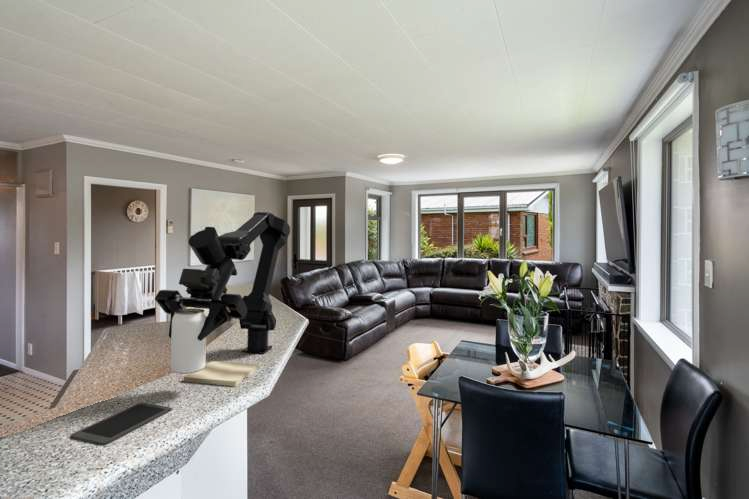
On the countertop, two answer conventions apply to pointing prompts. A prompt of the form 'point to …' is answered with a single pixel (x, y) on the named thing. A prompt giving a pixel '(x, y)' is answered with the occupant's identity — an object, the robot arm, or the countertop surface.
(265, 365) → the countertop surface
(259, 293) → the robot arm
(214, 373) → the coaster
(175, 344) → the can
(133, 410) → the cell phone
